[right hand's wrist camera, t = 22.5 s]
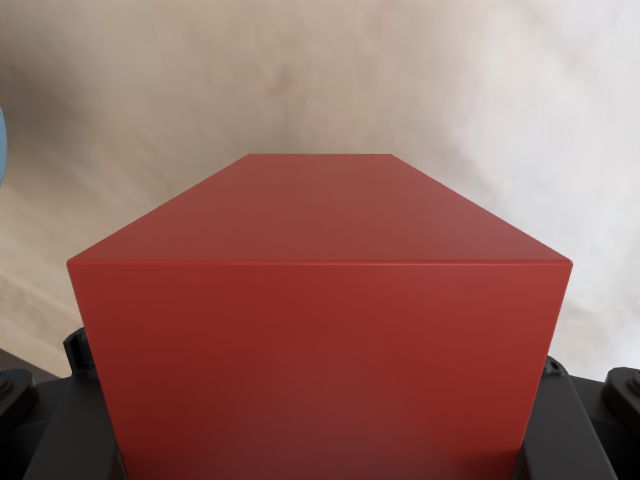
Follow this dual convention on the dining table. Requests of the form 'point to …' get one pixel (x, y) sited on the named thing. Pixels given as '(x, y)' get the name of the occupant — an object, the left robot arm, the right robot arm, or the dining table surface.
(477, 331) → the block
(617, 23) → the dining table surface
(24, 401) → the right robot arm
